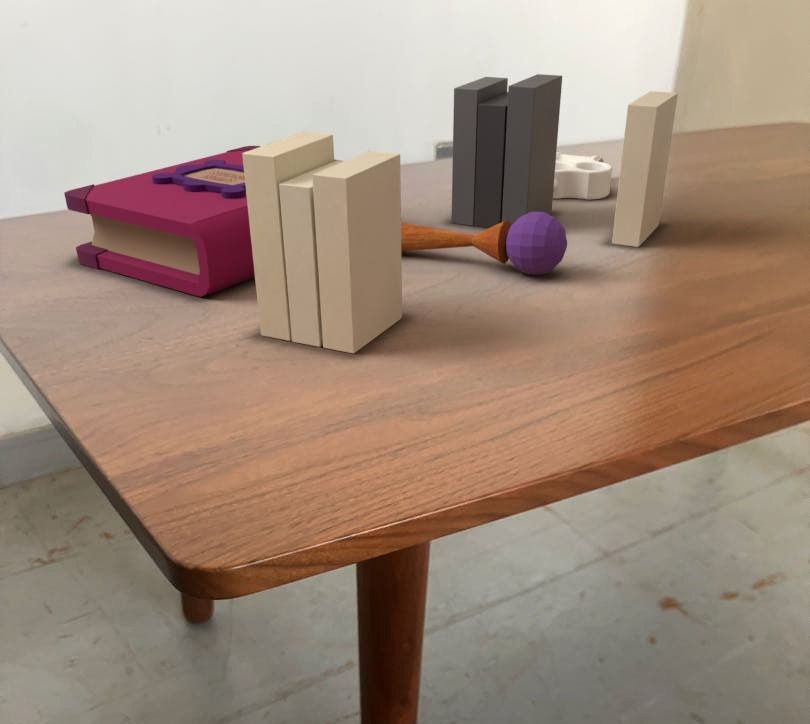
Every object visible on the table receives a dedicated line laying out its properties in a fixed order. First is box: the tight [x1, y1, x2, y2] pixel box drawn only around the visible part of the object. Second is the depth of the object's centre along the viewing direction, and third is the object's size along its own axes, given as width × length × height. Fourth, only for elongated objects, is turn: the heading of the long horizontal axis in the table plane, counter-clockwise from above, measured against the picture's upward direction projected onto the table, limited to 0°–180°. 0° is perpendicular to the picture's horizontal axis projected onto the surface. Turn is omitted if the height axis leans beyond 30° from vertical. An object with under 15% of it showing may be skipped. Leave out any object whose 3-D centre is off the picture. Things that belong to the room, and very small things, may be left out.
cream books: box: [242, 131, 403, 354], centre depth 77 cm, size 9×9×15 cm
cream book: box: [611, 90, 678, 248], centre depth 100 cm, size 3×9×14 cm, turn 153°
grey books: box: [451, 73, 563, 229], centre depth 105 cm, size 9×9×15 cm
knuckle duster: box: [553, 151, 613, 201], centre depth 121 cm, size 3×18×15 cm
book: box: [63, 145, 342, 298], centre depth 99 cm, size 21×28×8 cm
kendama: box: [401, 212, 568, 276], centre depth 94 cm, size 6×6×20 cm
